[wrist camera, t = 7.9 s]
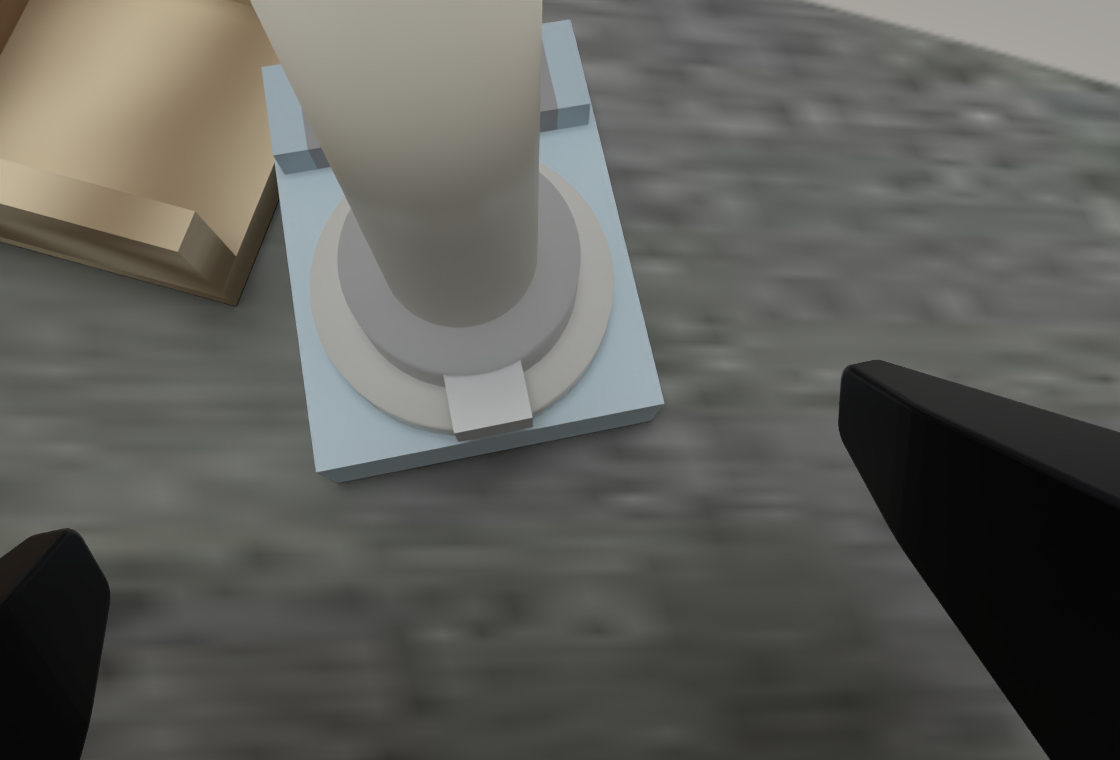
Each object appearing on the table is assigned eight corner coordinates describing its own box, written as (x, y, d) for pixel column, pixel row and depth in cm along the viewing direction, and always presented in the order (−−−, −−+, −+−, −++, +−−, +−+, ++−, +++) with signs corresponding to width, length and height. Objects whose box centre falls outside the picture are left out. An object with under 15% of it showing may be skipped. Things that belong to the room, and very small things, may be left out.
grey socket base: (651, 420, 20) (671, 393, 17) (337, 483, 20) (303, 466, 17) (570, 82, 23) (576, 8, 20) (287, 128, 22) (250, 58, 19)
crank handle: (338, 199, 18) (-6, -479, 7) (551, 162, 19) (586, -538, 7) (379, 458, 17) (32, 181, 5) (609, 412, 17) (775, 58, 6)
